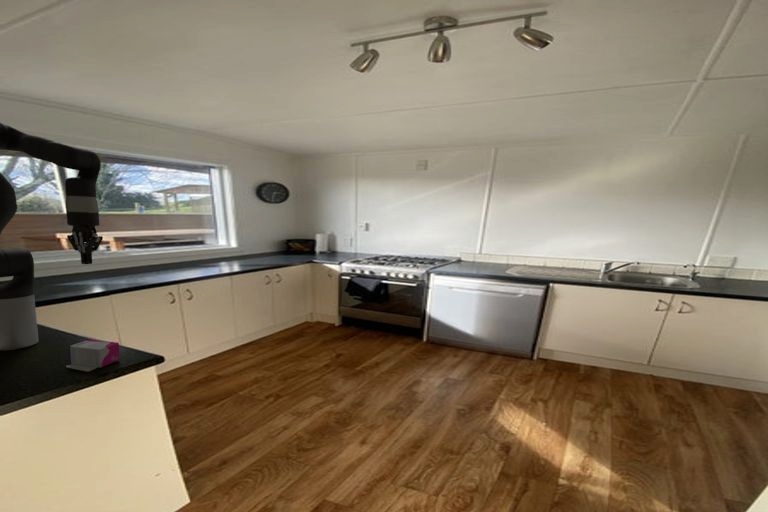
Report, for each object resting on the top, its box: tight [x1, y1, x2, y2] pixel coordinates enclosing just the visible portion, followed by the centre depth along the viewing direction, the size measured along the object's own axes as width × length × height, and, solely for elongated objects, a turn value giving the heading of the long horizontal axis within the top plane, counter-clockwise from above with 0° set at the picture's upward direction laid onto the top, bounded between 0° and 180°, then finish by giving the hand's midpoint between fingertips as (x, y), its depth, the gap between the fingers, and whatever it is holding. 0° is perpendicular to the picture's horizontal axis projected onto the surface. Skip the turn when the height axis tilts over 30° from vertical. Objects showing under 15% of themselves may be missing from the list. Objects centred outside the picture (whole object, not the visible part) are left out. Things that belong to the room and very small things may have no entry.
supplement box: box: [68, 339, 121, 368], centre depth 93 cm, size 6×6×12 cm
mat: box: [65, 364, 100, 373], centre depth 93 cm, size 9×8×1 cm
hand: (87, 263), depth 101 cm, fingers closed
